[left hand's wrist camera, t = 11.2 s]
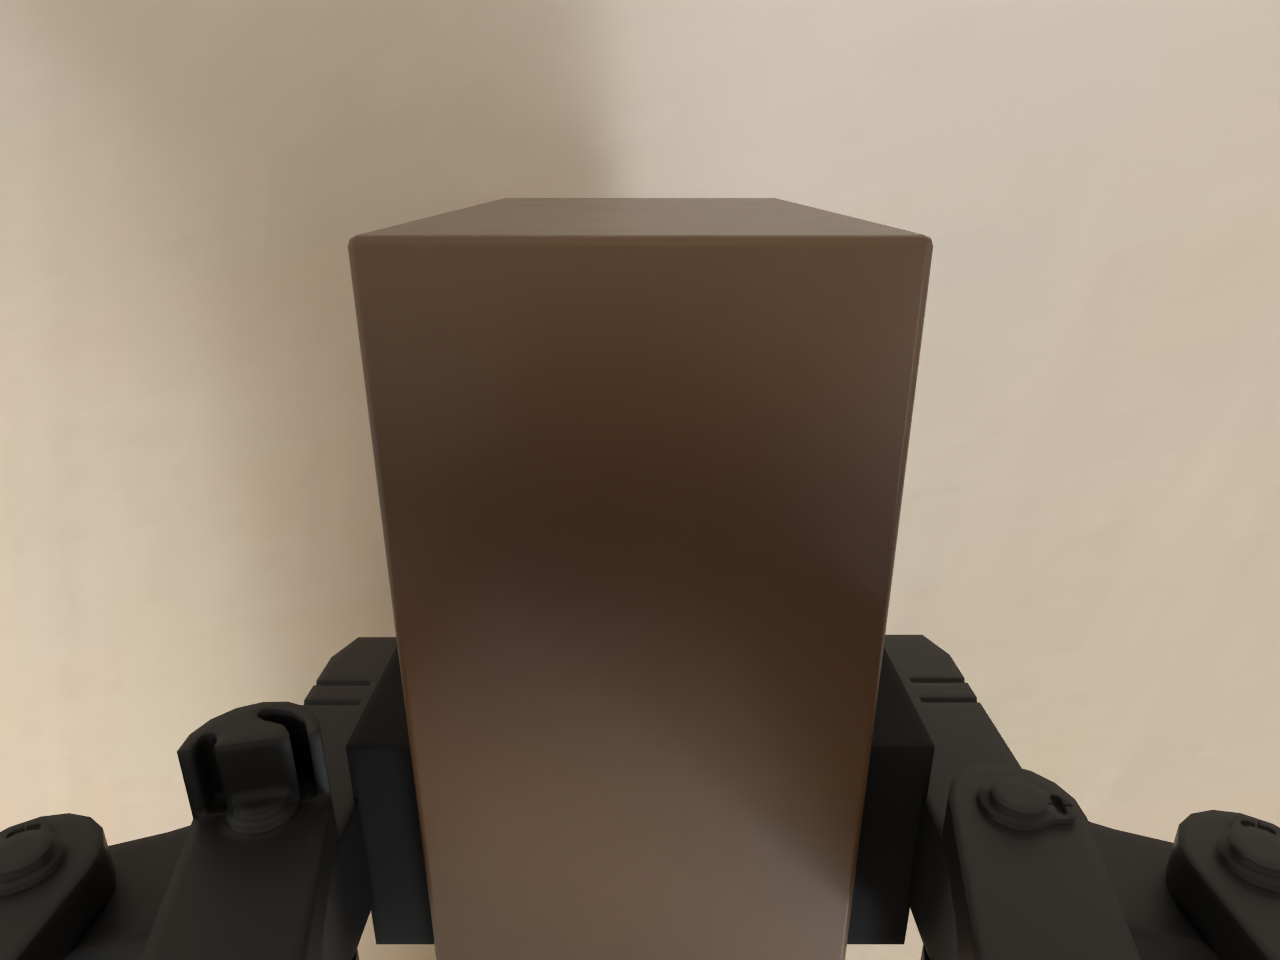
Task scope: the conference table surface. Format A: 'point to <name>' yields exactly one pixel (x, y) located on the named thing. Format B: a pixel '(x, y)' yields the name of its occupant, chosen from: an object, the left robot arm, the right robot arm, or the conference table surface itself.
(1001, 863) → the left robot arm
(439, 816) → the beam
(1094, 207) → the conference table surface
